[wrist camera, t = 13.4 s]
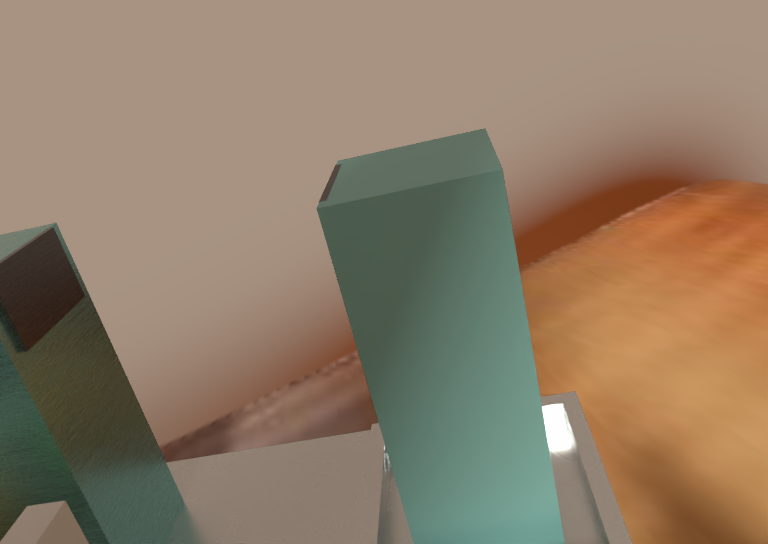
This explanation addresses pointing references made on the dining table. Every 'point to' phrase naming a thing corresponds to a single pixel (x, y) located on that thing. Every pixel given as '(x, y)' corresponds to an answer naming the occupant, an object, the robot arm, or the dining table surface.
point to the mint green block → (445, 338)
